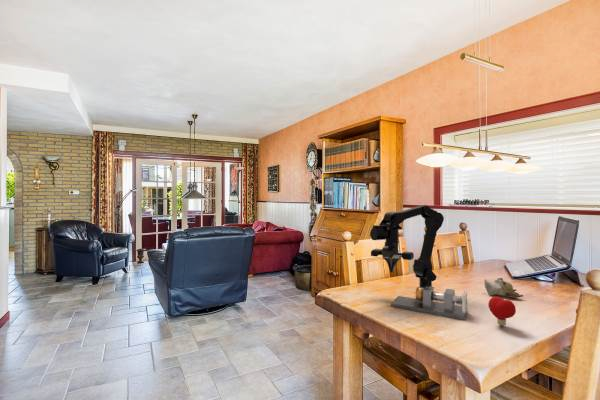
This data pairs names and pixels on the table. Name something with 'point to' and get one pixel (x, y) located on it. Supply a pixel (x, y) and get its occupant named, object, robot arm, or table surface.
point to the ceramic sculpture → (501, 288)
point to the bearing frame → (434, 304)
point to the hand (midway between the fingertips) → (391, 272)
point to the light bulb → (501, 309)
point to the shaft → (436, 296)
